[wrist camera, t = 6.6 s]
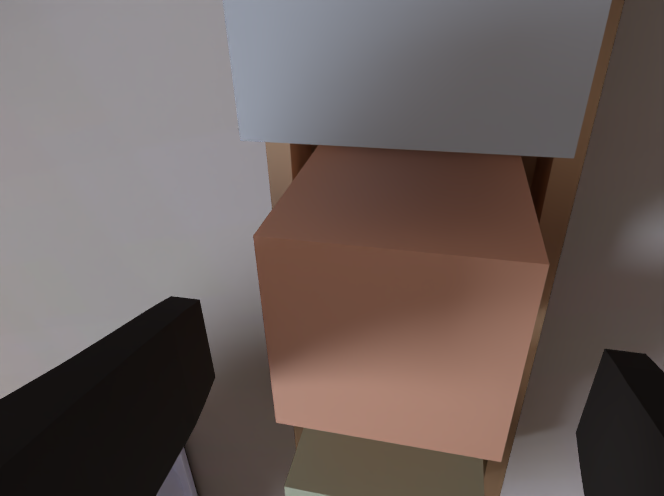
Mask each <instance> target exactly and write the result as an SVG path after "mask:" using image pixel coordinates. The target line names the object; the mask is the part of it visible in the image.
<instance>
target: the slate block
mask: <svg viewBox="0 0 664 496" xmlns="http://www.w3.org/2000/svg"><path fill="white" fill-rule="evenodd" d="M611 2H612V0H223V7H224V15H225V23H226V31H227V39H228V47H229V55H230V63H231V71H232V79H233V86H234V94H235V102H236V110H237V118H238V126H239V134H240V141H255V142H274V143H293V144H311V145H330V146H349V147H368V148H387V149H405V150H424V151H443V152H462V153H481V154H500V155H518V156H537V157H556V158H574V156H575V152H576V148H577V144H578V140H579V135H580V131H581V127H582V123H583V119H584V115H585V110H586V106H587V102H588V98H589V94H590V90H591V85H592V81H593V77H594V73H595V69H596V65H597V60H598V56H599V52H600V48H601V44H602V40H603V35H604V31H605V27H606V23H607V19H608V15H609V10H610V6H611Z"/></svg>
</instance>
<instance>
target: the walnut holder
mask: <svg viewBox="0 0 664 496" xmlns="http://www.w3.org/2000/svg"><path fill="white" fill-rule="evenodd" d="M624 1H625V0H612V2H611V6H610V10H609V15H608V19H607V23H606V27H605V31H604V35H603V40H602V44H601V48H600V52H599V56H598V60H597V65H596V69H595V73H594V77H593V81H592V85H591V90H590V94H589V98H588V102H587V106H586V110H585V115H584V119H583V123H582V127H581V131H580V135H579V140H578V144H577V148H576V152H575V156H574V158H556V157H537V156H521V158H522V162H523V166H524V170H525V173H526V177H527V181H528V185H529V189H530V192H531V196H532V200H533V204H534V208H535V211H536V215H537V219H538V223H539V227H540V230H541V234H542V238H543V242H544V246H545V249H546V253H547V257H548V261H549V264H550V265H549V269H548V273H547V277H546V281H545V285H544V289H543V293H542V297H541V301H540V306H539V310H538V314H537V318H536V322H535V326H534V330H533V334H532V338H531V342H530V346H529V350H528V354H527V359H526V363H525V367H524V371H523V375H522V379H521V383H520V387H519V391H518V395H517V399H516V403H515V407H514V412H513V416H512V420H511V424H510V428H509V432H508V436H507V440H506V444H505V448H504V452H503V456H502V460H501V462H497V461H491V460H486V459H483V473H484V496H500V493H501V489H502V485H503V481H504V477H505V473H506V469H507V465H508V461H509V457H510V453H511V449H512V445H513V441H514V437H515V433H516V429H517V425H518V421H519V417H520V413H521V409H522V405H523V401H524V397H525V393H526V390H527V386H528V382H529V378H530V374H531V370H532V366H533V362H534V358H535V354H536V350H537V346H538V342H539V338H540V334H541V330H542V326H543V322H544V318H545V314H546V310H547V306H548V302H549V298H550V294H551V290H552V286H553V282H554V278H555V275H556V271H557V267H558V263H559V259H560V255H561V251H562V247H563V243H564V239H565V235H566V231H567V227H568V223H569V219H570V215H571V211H572V207H573V203H574V199H575V195H576V191H577V187H578V183H579V179H580V175H581V171H582V167H583V163H584V160H585V156H586V152H587V148H588V144H589V140H590V136H591V132H592V128H593V124H594V120H595V116H596V112H597V108H598V104H599V100H600V96H601V92H602V88H603V84H604V80H605V76H606V72H607V68H608V64H609V60H610V56H611V52H612V48H613V45H614V41H615V37H616V33H617V29H618V25H619V21H620V17H621V13H622V9H623V5H624ZM265 143H266V153H267V163H268V173H269V183H270V193H271V203H272V209H273V208H274V206H275V205H276V204H277V202H278V201H279V199H280V198H281V197H282V195H283V194H284V192H285V191H286V190H287V188H288V187H289V185H290V184H291V183H292V181H293V180H294V179H295V177H296V176H297V174H298V173H299V172H300V170H301V169H302V167H303V166H304V165H305V163H306V162H307V160H308V159H309V158H310V156H311V155H312V154H313V152H314V151H315V149H316V148H317V147H318V145H311V144H293V143H274V142H265ZM302 431H303V427H298V426H294V434H295V444H296V449H297V446H298V443H299V440H300V437H301V434H302Z"/></svg>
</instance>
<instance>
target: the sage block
mask: <svg viewBox="0 0 664 496" xmlns="http://www.w3.org/2000/svg"><path fill="white" fill-rule="evenodd" d="M284 490H285V496H484V473H483V459H480V458H474V457H469V456H463V455H457V454H452V453H446V452H440V451H434V450H429V449H423V448H417V447H412V446H406V445H400V444H395V443H389V442H383V441H377V440H372V439H366V438H360V437H355V436H349V435H343V434H338V433H332V432H326V431H321V430H315V429H309V428H303V431H302V434H301V437H300V440H299V443H298V446H297V449H296V452H295V455H294V458H293V461H292V464H291V467H290V470H289V473H288V476H287V479H286V482H285V485H284Z"/></svg>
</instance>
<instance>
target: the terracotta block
mask: <svg viewBox="0 0 664 496" xmlns="http://www.w3.org/2000/svg"><path fill="white" fill-rule="evenodd" d="M253 238H254V246H255V255H256V263H257V271H258V279H259V287H260V295H261V304H262V312H263V320H264V328H265V336H266V344H267V353H268V361H269V369H270V377H271V385H272V393H273V402H274V410H275V418H276V423H281V424H286V425H292V426H298V427H303V428H309V429H315V430H321V431H326V432H332V433H338V434H343V435H349V436H355V437H360V438H366V439H372V440H377V441H383V442H389V443H395V444H400V445H406V446H412V447H417V448H423V449H429V450H434V451H440V452H446V453H452V454H457V455H463V456H469V457H474V458H480V459H486V460H491V461H497V462H501V460H502V456H503V452H504V448H505V444H506V440H507V436H508V432H509V428H510V424H511V420H512V416H513V412H514V407H515V403H516V399H517V395H518V391H519V387H520V383H521V379H522V375H523V371H524V367H525V363H526V359H527V354H528V350H529V346H530V342H531V338H532V334H533V330H534V326H535V322H536V318H537V314H538V310H539V306H540V301H541V297H542V293H543V289H544V285H545V281H546V277H547V273H548V269H549V265H550V264H549V261H548V257H547V253H546V249H545V246H544V242H543V238H542V234H541V230H540V227H539V223H538V219H537V215H536V211H535V208H534V204H533V200H532V196H531V192H530V189H529V185H528V181H527V177H526V173H525V170H524V166H523V162H522V158H521V156H518V155H500V154H481V153H462V152H443V151H424V150H405V149H387V148H368V147H349V146H330V145H318V147H317V148H316V149H315V151H314V152H313V154H312V155H311V156H310V158H309V159H308V160H307V162H306V163H305V165H304V166H303V167H302V169H301V170H300V172H299V173H298V174H297V176H296V177H295V179H294V180H293V181H292V183H291V184H290V185H289V187H288V188H287V190H286V191H285V192H284V194H283V195H282V197H281V198H280V199H279V201H278V202H277V204H276V205H275V206H274V208H273V209H272V211H271V212H270V213H269V215H268V216H267V217H266V219H265V220H264V222H263V223H262V224H261V226H260V227H259V229H258V230H257V231H256V233H255V234H254V236H253Z"/></svg>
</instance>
